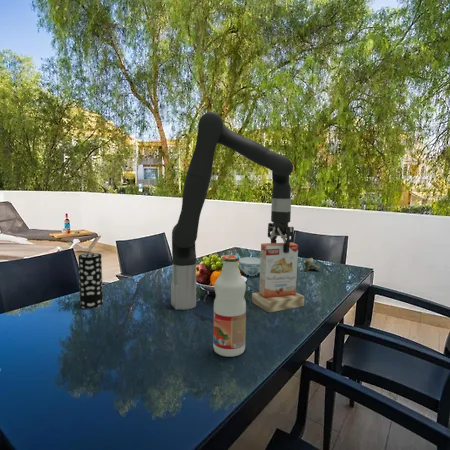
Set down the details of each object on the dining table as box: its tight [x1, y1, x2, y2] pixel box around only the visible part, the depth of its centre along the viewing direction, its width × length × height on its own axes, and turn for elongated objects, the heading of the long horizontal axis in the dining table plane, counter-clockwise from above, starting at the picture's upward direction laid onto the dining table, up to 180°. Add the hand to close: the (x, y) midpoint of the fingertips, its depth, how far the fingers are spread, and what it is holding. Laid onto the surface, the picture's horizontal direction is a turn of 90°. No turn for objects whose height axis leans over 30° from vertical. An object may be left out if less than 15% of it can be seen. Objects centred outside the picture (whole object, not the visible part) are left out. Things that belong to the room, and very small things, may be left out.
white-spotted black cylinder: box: [77, 252, 104, 310], centre depth 133 cm, size 8×8×20 cm
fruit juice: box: [212, 254, 247, 357], centre depth 98 cm, size 9×9×28 cm
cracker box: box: [258, 242, 299, 297], centre depth 136 cm, size 14×6×21 cm, turn 107°
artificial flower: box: [297, 257, 321, 272], centre depth 190 cm, size 9×22×10 cm, turn 91°
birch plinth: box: [251, 291, 305, 313], centre depth 137 cm, size 17×12×4 cm
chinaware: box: [238, 256, 261, 277], centre depth 181 cm, size 15×15×8 cm
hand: (279, 250), depth 135 cm, fingers open, 8 cm apart
